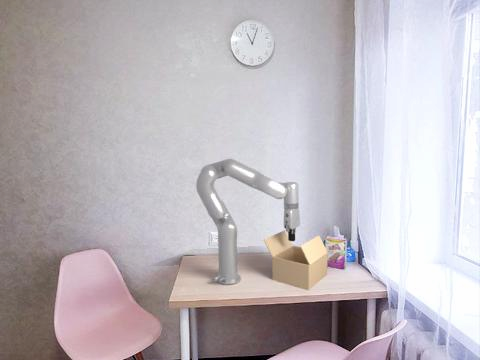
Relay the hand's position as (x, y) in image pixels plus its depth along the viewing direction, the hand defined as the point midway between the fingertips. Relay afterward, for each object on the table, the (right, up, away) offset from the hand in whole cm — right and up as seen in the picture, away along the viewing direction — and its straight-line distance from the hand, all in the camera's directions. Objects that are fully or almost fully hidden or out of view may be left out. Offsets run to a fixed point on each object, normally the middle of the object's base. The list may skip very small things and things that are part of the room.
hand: (291, 240), depth 162 cm
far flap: (-6, -2, +5) cm, 8 cm away
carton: (+4, -19, -1) cm, 19 cm away
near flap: (+10, -3, -8) cm, 13 cm away
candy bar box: (+26, -17, +12) cm, 33 cm away
